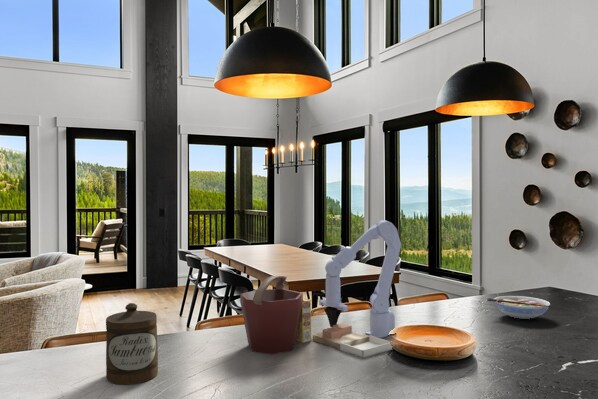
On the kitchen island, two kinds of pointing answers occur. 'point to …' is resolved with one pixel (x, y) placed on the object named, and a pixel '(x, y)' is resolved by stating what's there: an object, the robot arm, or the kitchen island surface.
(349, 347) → the tray
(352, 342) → the board
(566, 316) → the kitchen island surface
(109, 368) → the wooden container
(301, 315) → the candy box
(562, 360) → the kitchen island surface
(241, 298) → the bucket
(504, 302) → the ramen bowl
